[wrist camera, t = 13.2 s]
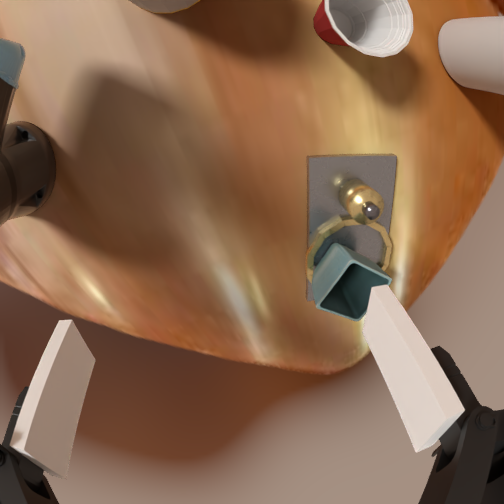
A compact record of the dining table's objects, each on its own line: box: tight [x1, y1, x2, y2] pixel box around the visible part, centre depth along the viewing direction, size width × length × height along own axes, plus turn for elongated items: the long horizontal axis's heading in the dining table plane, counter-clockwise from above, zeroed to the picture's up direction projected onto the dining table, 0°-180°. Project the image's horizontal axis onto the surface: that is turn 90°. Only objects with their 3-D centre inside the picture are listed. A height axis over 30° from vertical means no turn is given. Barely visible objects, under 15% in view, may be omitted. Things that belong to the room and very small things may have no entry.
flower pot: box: [312, 243, 392, 321], centre depth 45 cm, size 9×9×9 cm
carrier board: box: [306, 154, 397, 301], centre depth 44 cm, size 15×25×8 cm, turn 5°
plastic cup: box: [314, 0, 413, 57], centre depth 26 cm, size 11×11×12 cm
